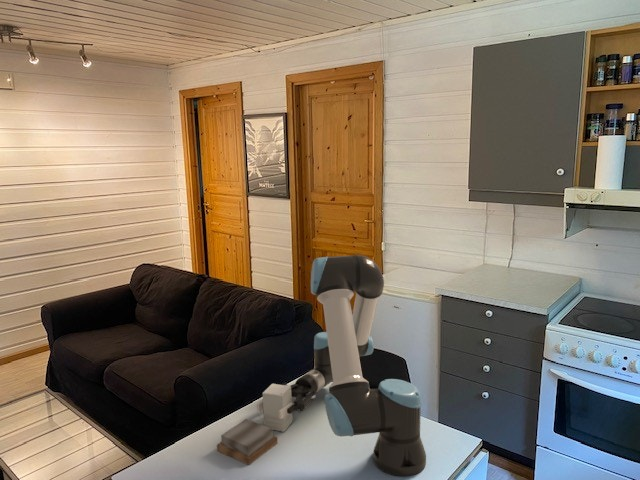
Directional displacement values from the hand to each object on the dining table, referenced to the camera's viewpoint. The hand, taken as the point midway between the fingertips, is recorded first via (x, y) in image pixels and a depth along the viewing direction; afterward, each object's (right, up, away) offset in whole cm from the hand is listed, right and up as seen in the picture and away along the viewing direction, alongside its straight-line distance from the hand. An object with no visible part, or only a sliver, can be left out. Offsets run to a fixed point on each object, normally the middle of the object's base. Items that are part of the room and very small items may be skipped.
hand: (268, 411), depth 157 cm
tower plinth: (-6, -8, -7) cm, 12 cm away
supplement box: (+3, -6, +5) cm, 9 cm away
